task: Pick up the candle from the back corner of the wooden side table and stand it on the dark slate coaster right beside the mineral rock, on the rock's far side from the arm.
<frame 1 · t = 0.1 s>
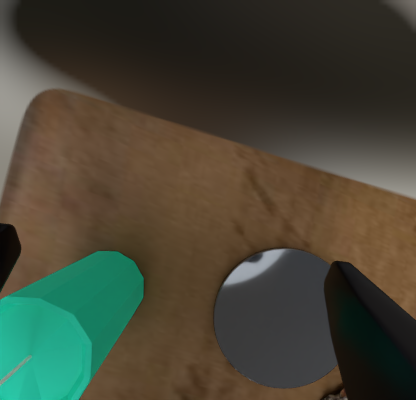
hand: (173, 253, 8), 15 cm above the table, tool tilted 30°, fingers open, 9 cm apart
candle: (108, 286, 24), on the table
slate coaster: (282, 316, 23), on the table
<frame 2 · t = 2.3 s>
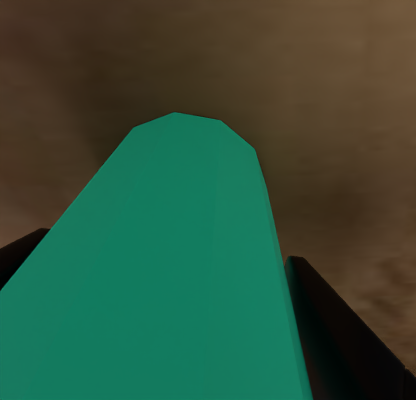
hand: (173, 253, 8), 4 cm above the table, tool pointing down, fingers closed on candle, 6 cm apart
candle: (187, 187, 11), on the table, touching gripper
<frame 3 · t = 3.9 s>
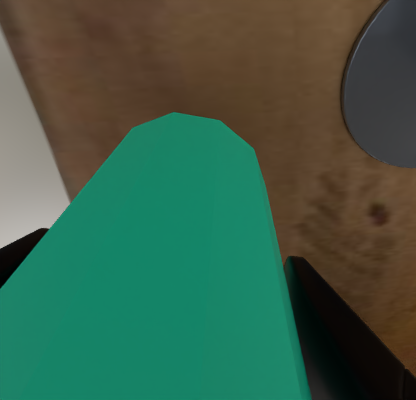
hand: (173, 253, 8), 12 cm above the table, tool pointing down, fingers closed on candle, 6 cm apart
candle: (187, 187, 11), point 8 cm above the table, touching gripper
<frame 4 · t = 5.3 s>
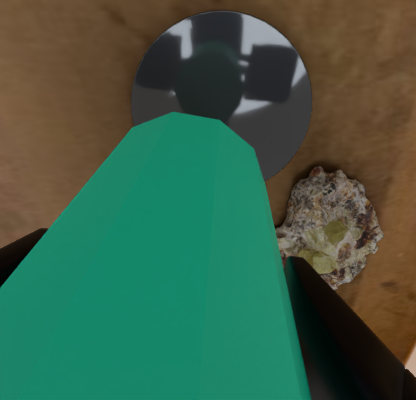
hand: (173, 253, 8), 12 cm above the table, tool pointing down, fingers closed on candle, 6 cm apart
candle: (186, 187, 11), point 9 cm above the table, touching gripper
mineral rock: (322, 221, 23), on the table
slate coaster: (220, 114, 18), on the table
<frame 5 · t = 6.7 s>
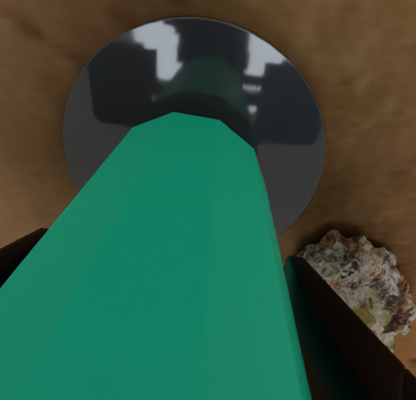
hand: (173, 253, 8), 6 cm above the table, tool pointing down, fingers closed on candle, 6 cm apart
candle: (187, 187, 11), point 2 cm above the table, touching gripper
mineral rock: (335, 291, 17), on the table
slate coaster: (193, 163, 13), on the table
when the fingers open (4 cm above the table, at t = 8.1 s): candle stays where it is, resting on slate coaster.
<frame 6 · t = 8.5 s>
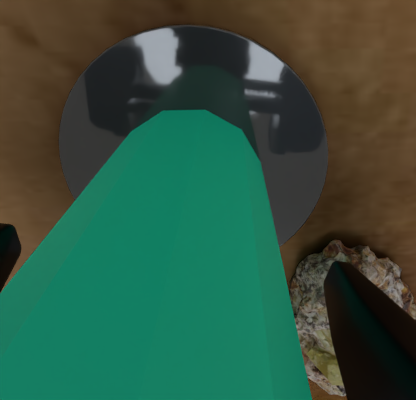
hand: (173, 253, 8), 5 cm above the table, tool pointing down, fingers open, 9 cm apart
candle: (190, 177, 12), resting on slate coaster
mineral rock: (338, 301, 17), on the table
slate coaster: (192, 172, 13), on the table
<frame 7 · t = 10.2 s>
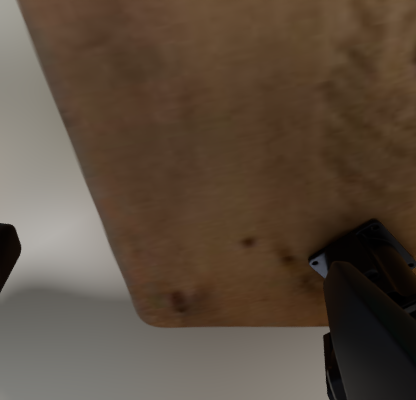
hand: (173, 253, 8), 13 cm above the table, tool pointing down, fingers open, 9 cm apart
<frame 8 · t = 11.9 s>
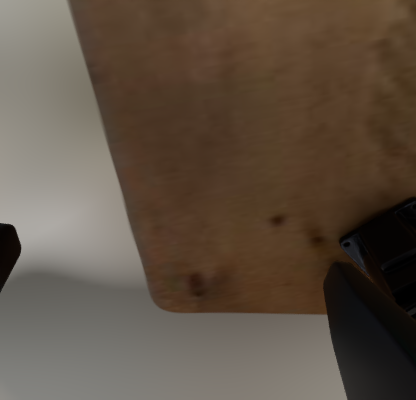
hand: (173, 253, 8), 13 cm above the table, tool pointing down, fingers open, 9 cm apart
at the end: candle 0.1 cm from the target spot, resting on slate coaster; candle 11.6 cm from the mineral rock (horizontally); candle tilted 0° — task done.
